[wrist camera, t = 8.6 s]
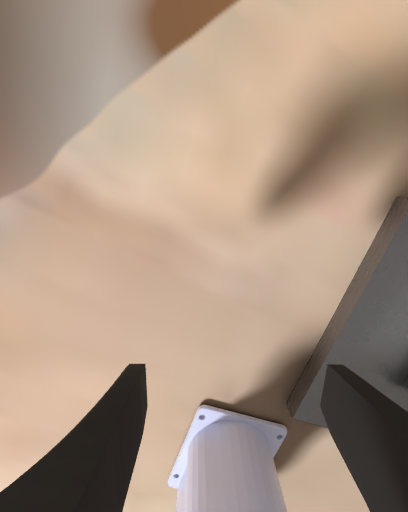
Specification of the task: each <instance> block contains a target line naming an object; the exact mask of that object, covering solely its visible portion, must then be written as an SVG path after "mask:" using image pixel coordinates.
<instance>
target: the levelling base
mask: <svg viewBox="0 0 408 512" xmlns="http://www.w3.org/2000/svg"><path fill="white" fill-rule="evenodd" d="M327 364H343V365H344V366H346V367H347V368H348V369H350V370H351V371H353V372H354V373H355V374H357V375H358V376H360V377H361V378H362V379H364V380H365V381H366V382H368V383H369V384H370V385H372V386H373V387H374V388H376V389H377V390H378V391H380V392H381V393H382V394H384V395H385V396H387V397H388V398H389V399H391V400H392V401H393V402H395V403H396V404H398V405H399V406H400V407H402V408H403V409H405V410H406V411H408V198H400V197H397V198H396V200H395V202H394V204H393V205H392V207H391V209H390V211H389V213H388V215H387V217H386V218H385V220H384V222H383V224H382V226H381V228H380V230H379V231H378V233H377V235H376V237H375V239H374V241H373V243H372V245H371V246H370V248H369V250H368V252H367V254H366V256H365V258H364V259H363V261H362V263H361V265H360V267H359V269H358V271H357V273H356V274H355V276H354V278H353V280H352V282H351V284H350V286H349V287H348V289H347V291H346V293H345V295H344V297H343V299H342V301H341V302H340V304H339V306H338V308H337V310H336V312H335V314H334V315H333V317H332V319H331V321H330V323H329V325H328V327H327V329H326V330H325V332H324V334H323V336H322V338H321V340H320V342H319V343H318V345H317V347H316V349H315V351H314V353H313V355H312V357H311V358H310V360H309V362H308V364H307V366H306V368H305V370H304V371H303V373H302V375H301V377H300V379H299V381H298V383H297V384H296V386H295V388H294V390H293V392H292V394H291V396H290V398H289V399H288V401H287V403H286V404H287V406H288V409H289V411H290V414H291V417H292V419H295V420H299V421H303V422H307V423H310V424H314V425H318V426H322V427H325V428H328V426H327V424H326V421H325V418H324V416H323V413H322V410H321V407H320V403H321V397H322V391H323V386H324V380H325V375H326V369H327Z"/></svg>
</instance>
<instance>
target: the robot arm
mask: <svg viewBox="0 0 408 512" xmlns="http://www.w3.org/2000/svg"><path fill="white" fill-rule="evenodd" d="M320 407H321V410H322V413H323V416H324V418H325V421H326V424H327V426H328V429H329V431H330V434H331V436H332V438H333V440H334V442H335V444H336V446H337V448H338V450H339V452H340V453H341V455H342V457H343V459H344V461H345V463H346V465H347V467H348V469H349V471H350V473H351V475H352V477H353V479H354V481H355V482H356V484H357V486H358V488H359V490H360V492H361V494H362V496H363V498H364V500H365V502H366V504H367V506H368V508H369V510H370V512H408V411H406V410H405V409H403V408H402V407H400V406H399V405H398V404H396V403H395V402H393V401H392V400H391V399H389V398H388V397H387V396H385V395H384V394H382V393H381V392H380V391H378V390H377V389H376V388H374V387H373V386H372V385H370V384H369V383H368V382H366V381H365V380H364V379H362V378H361V377H360V376H358V375H357V374H355V373H354V372H353V371H351V370H350V369H348V368H347V367H346V366H344V365H343V364H327V369H326V375H325V380H324V386H323V391H322V397H321V403H320ZM146 412H147V388H146V368H145V364H129V365H128V366H127V367H126V368H125V370H124V371H123V372H122V373H121V375H120V376H119V377H118V379H117V380H116V381H115V382H114V384H113V385H112V386H111V387H110V389H109V390H108V391H107V392H106V393H105V394H104V396H103V397H102V398H101V399H100V400H99V401H98V403H97V404H96V405H95V406H94V407H93V408H92V409H91V411H90V412H89V413H88V414H87V415H86V416H85V417H84V418H83V419H82V420H81V421H80V422H79V423H78V424H77V425H76V426H75V427H74V428H73V429H72V430H71V431H70V432H69V433H68V434H67V435H66V436H65V437H64V438H63V439H62V440H61V441H60V442H59V443H58V444H57V445H56V446H55V447H54V448H53V449H52V450H50V451H49V452H48V453H47V454H46V455H45V456H44V457H43V458H42V459H40V460H39V461H38V462H37V463H36V464H35V465H33V466H32V467H31V468H30V469H29V470H28V471H26V472H25V473H24V474H23V475H21V476H20V477H19V478H18V479H17V480H15V481H14V482H13V483H12V484H10V485H9V486H8V487H7V488H5V489H4V490H3V491H1V492H0V512H122V511H123V506H124V502H125V499H126V495H127V491H128V488H129V484H130V480H131V477H132V473H133V469H134V465H135V462H136V458H137V454H138V451H139V447H140V443H141V439H142V435H143V430H144V424H145V418H146ZM200 415H203V416H200ZM286 435H287V428H286V427H285V426H284V425H281V424H277V423H274V422H270V421H266V420H262V419H258V418H254V417H250V416H247V415H243V414H239V413H235V412H231V411H227V410H224V409H220V408H216V407H212V406H208V405H201V406H199V407H198V409H197V412H196V414H195V416H194V419H193V421H192V423H191V426H190V428H189V430H188V433H187V435H186V438H185V440H184V442H183V445H182V447H181V449H180V452H179V454H178V456H177V459H176V461H175V463H174V466H173V468H172V471H171V473H170V475H169V478H168V485H169V486H170V487H173V488H177V489H178V490H177V506H176V512H287V509H286V505H285V501H284V498H283V494H282V490H281V486H280V482H279V479H278V475H277V471H276V467H275V463H274V460H273V458H274V456H275V455H276V453H277V451H278V449H279V447H280V446H281V444H282V442H283V440H284V439H285V437H286Z"/></svg>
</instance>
